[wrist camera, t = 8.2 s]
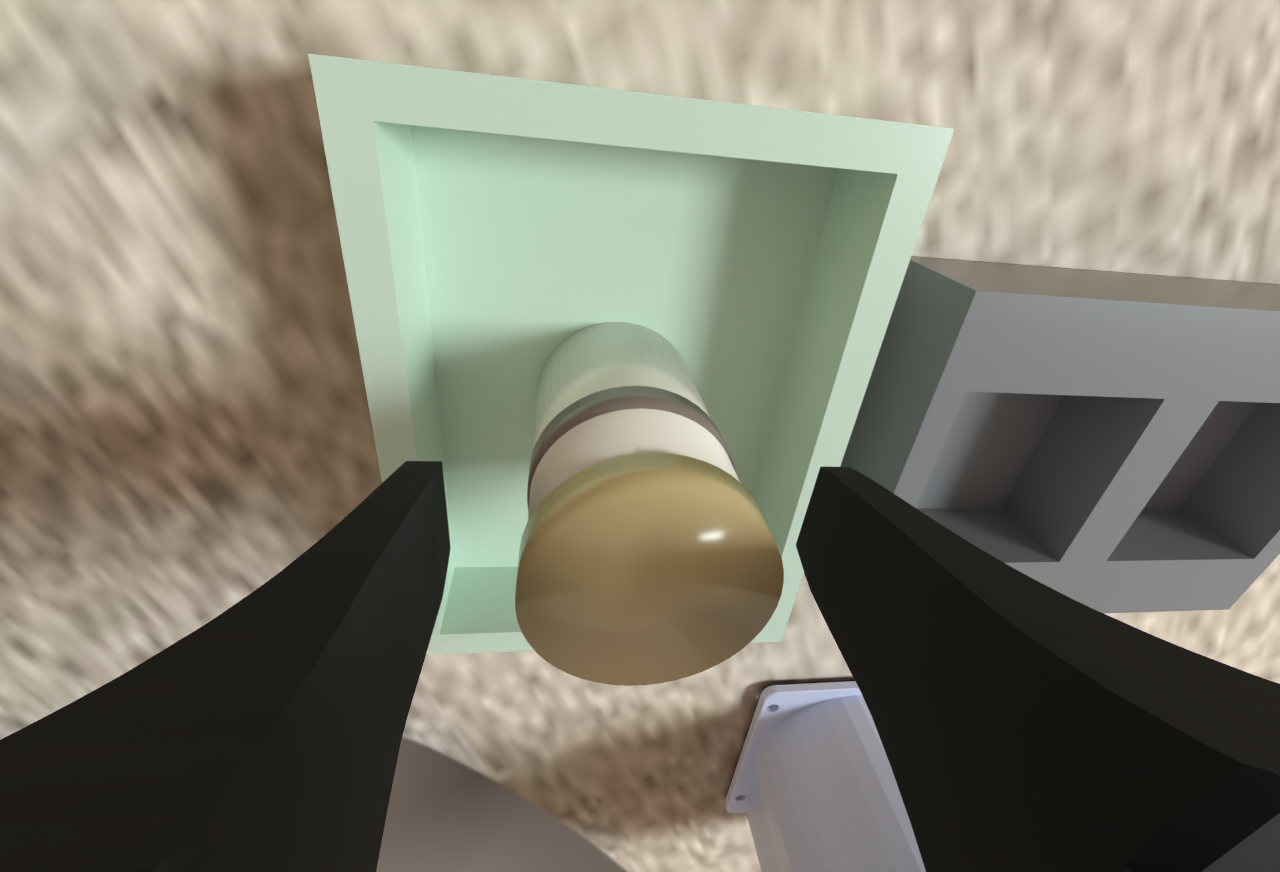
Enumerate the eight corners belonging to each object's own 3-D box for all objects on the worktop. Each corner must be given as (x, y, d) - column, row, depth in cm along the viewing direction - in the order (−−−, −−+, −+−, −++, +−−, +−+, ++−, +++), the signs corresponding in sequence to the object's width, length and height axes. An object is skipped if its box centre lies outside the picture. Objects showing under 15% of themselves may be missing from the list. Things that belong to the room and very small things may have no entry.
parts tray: (752, 569, 19) (781, 641, 17) (432, 575, 18) (411, 655, 15) (873, 121, 12) (954, 128, 10) (367, 63, 11) (308, 53, 8)
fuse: (684, 460, 16) (759, 677, 10) (536, 462, 15) (521, 693, 9) (703, 319, 14) (810, 490, 8) (530, 316, 13) (506, 496, 7)
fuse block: (1149, 548, 21) (1228, 609, 19) (804, 551, 19) (840, 621, 17) (1342, 289, 16) (1487, 325, 14) (901, 255, 14) (976, 290, 12)
